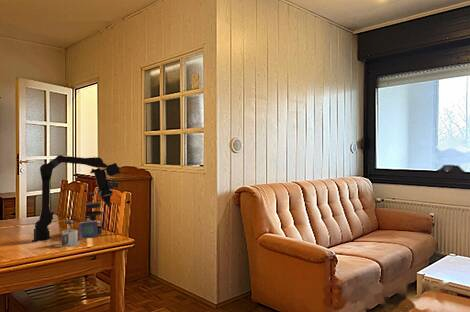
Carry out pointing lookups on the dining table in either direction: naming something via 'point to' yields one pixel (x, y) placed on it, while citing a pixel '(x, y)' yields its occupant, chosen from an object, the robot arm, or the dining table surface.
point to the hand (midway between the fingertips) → (108, 205)
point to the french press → (95, 213)
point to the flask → (88, 229)
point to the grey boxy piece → (69, 237)
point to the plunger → (69, 224)
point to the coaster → (68, 246)
